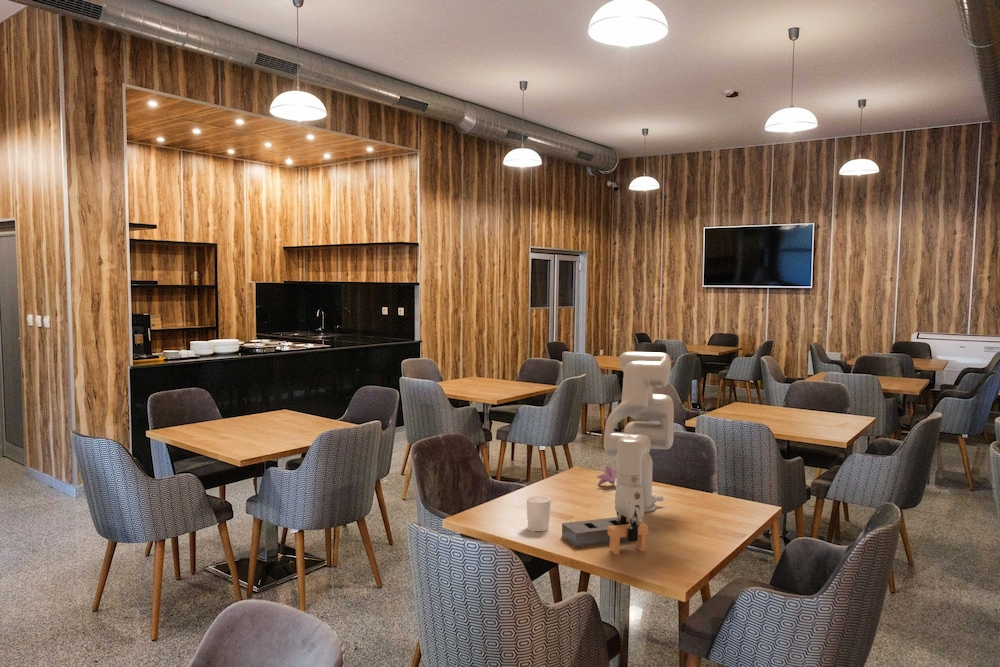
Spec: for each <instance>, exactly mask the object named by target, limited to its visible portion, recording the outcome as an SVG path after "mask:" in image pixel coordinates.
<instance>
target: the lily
mask: <svg viewBox="0 0 1000 667" xmlns="http://www.w3.org/2000/svg"><path fill="white" fill-rule="evenodd" d="M616 475H617V467H616V468H613V467H612V466H610V465H608V464H606V465H605V467H604V471H603V473H602V474H600V475H597V476H596V478H597V479H600V480H599V481H598V482H597V486H601V485H603V484H604V483H609V484H611V485H612V484H614V485H613V486H614V490H615V489H616V485H615V483H616V482H615V481H616Z"/></svg>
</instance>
